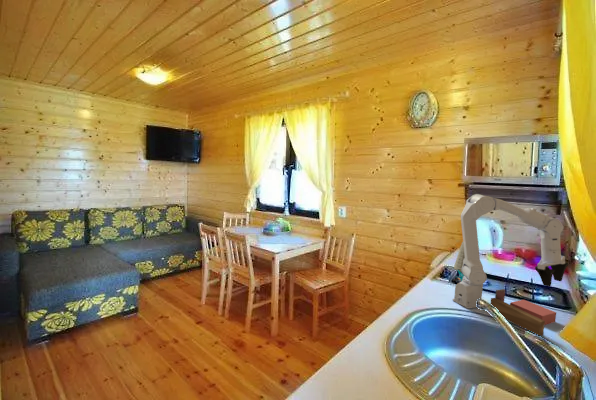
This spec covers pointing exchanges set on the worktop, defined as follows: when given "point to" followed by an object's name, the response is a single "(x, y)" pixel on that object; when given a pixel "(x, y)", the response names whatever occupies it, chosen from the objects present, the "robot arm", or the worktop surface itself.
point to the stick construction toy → (459, 277)
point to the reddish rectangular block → (536, 311)
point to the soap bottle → (460, 258)
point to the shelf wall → (519, 316)
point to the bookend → (500, 294)
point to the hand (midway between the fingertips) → (552, 283)
